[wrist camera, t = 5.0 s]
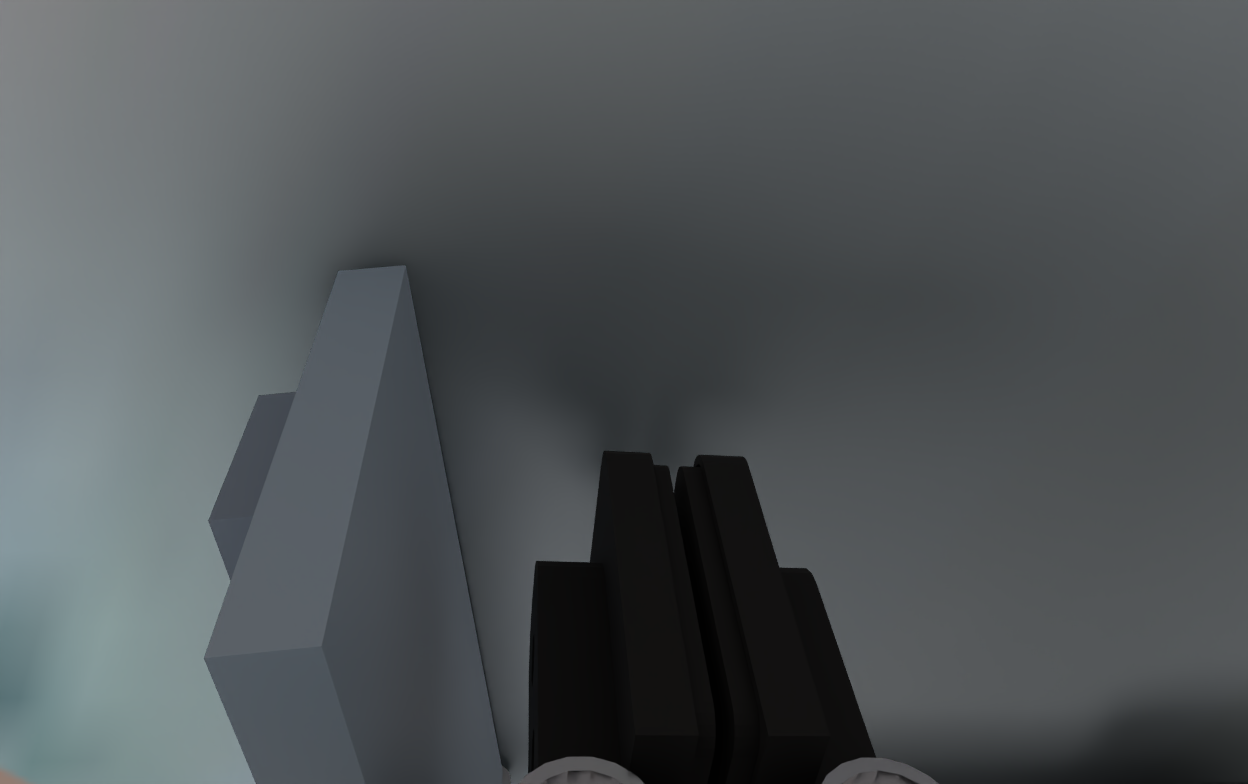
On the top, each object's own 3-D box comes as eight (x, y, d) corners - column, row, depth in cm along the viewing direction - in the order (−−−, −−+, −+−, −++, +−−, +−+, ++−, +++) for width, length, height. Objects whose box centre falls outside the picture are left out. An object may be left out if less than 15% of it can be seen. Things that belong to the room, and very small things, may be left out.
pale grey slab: (288, 271, 12) (109, 679, 7) (414, 261, 12) (334, 655, 7) (429, 802, 18) (391, 1242, 12) (513, 793, 18) (510, 1226, 12)
